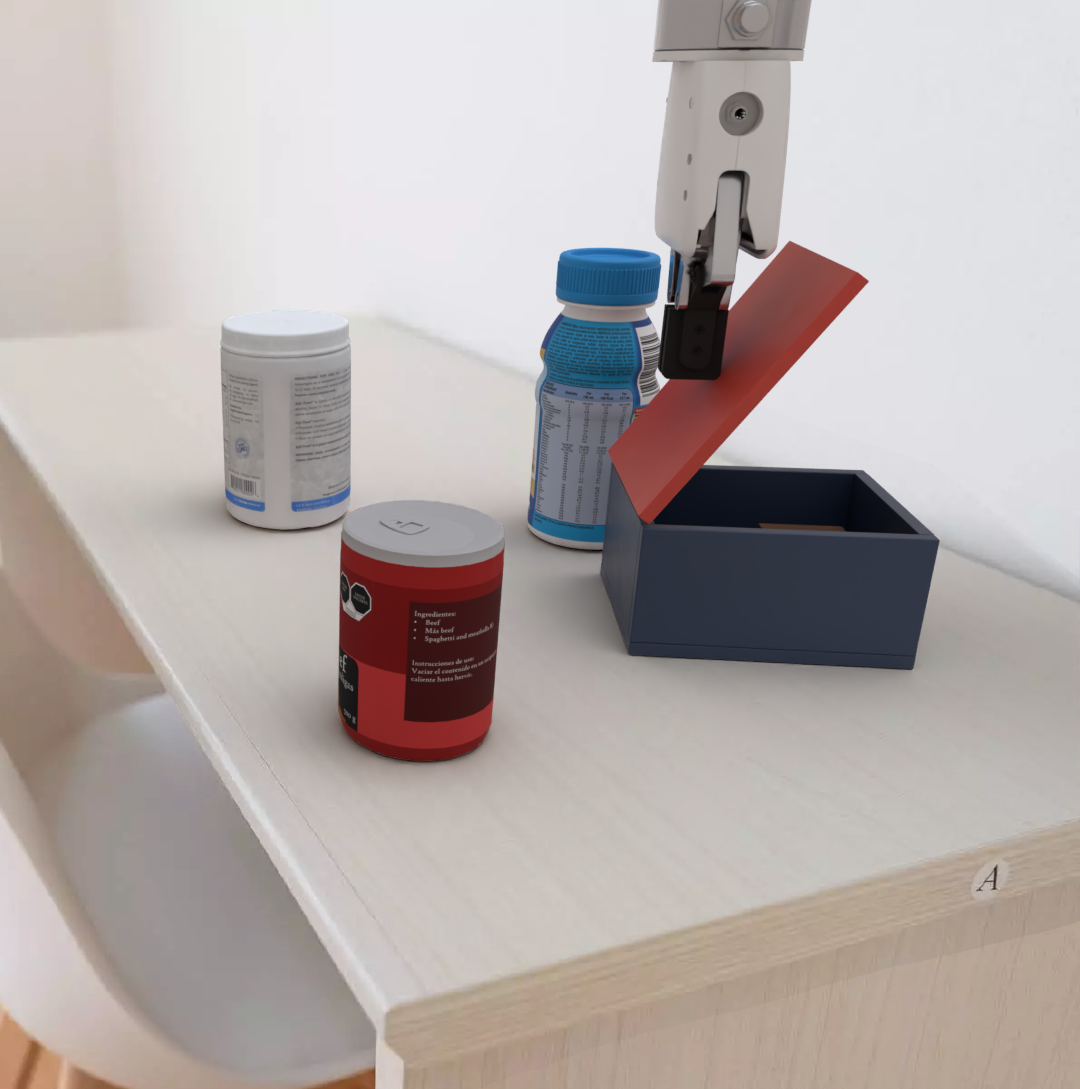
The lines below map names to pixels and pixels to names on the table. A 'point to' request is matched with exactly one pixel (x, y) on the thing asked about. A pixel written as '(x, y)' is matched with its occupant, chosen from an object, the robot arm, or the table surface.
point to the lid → (732, 375)
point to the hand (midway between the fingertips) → (688, 375)
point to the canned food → (419, 627)
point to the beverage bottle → (591, 387)
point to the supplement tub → (286, 417)
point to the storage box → (770, 569)
